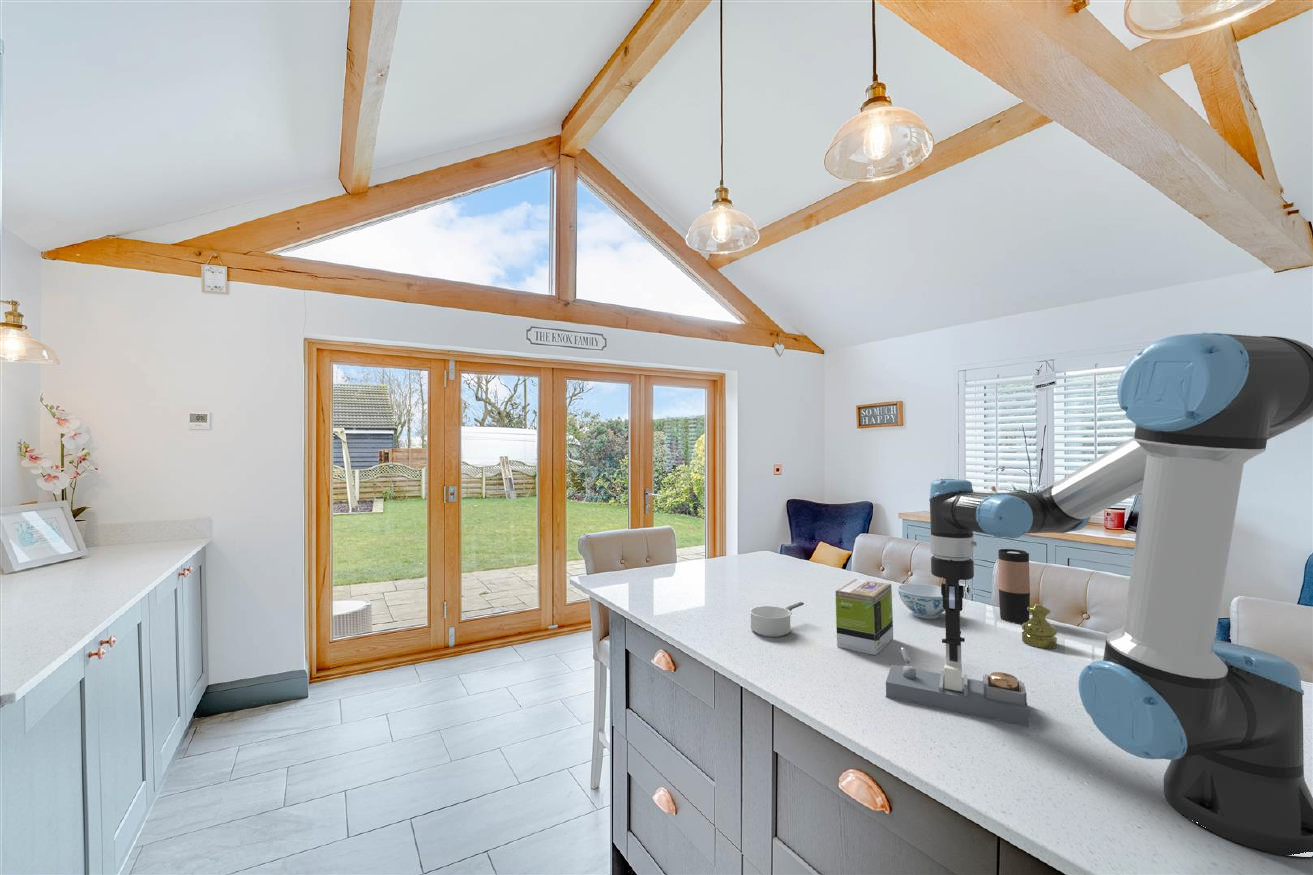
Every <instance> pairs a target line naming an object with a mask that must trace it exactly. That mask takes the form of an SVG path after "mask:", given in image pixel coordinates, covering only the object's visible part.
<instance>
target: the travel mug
mask: <svg viewBox="0 0 1313 875" xmlns="http://www.w3.org/2000/svg"><path fill="white" fill-rule="evenodd" d="M1030 582H1031V581H1030V553H1029V552H1027V551H1025V550H1020V549H1013V548H1001V549H998V600H999V601H998V602H999V603H998V604H999V617H1000V619H1001V620H1002V619H1003V620H1002V621H1004V620H1005V622H1007V621H1010V622H1009V623H1011V622H1015V623H1014V624H1019V623H1024V622H1027V621H1028V620H1029V619H1030V614H1031V612H1029V611H1028V610H1027V607H1028V606H1031V602H1030V600H1031V583H1030Z"/></svg>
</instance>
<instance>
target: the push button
mask: <svg viewBox="0 0 1313 875" xmlns="http://www.w3.org/2000/svg"><path fill="white" fill-rule="evenodd" d="M989 675H990V686H991V687H995V688H1000V689H1006V690H1011V691H1016V692H1018V684H1017V680H1018V678H1017V677H1016V676H1015V675H1013V674H1010V673H1008V672H1007V673H1005V672H999V671H995V672H991V673H990V674H989Z"/></svg>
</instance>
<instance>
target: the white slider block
mask: <svg viewBox="0 0 1313 875" xmlns="http://www.w3.org/2000/svg"><path fill="white" fill-rule="evenodd" d="M943 666H944V668H943V671H944V681H945V688H946V689H951V690H956V691H961V692H962V677H963V667H958V666H952V665H946V663H945V664H944V665H943Z"/></svg>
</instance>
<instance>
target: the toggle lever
mask: <svg viewBox="0 0 1313 875" xmlns="http://www.w3.org/2000/svg"><path fill="white" fill-rule="evenodd" d="M900 651H901V654H902V657H903V659H904V663H905V664H906V665H907V664H908V665H909V664H910V663H911V660H910V657H909V655H908V651H907V649H906V648H905V647H901V648H900Z"/></svg>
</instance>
